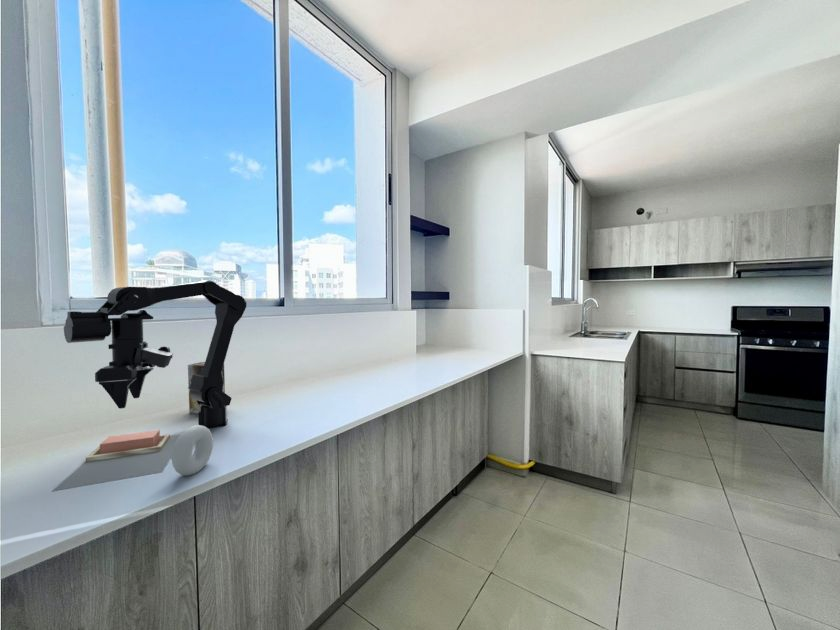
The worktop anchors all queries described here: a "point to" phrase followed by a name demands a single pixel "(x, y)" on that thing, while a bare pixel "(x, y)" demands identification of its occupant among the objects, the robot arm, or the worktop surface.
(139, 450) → the slot frame
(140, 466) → the mat
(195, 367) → the coffee box
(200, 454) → the donut
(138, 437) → the card deck
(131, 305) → the robot arm
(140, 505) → the worktop surface
